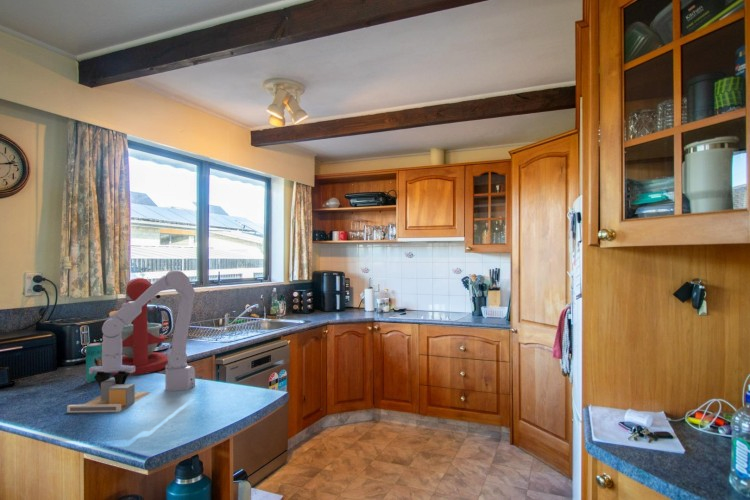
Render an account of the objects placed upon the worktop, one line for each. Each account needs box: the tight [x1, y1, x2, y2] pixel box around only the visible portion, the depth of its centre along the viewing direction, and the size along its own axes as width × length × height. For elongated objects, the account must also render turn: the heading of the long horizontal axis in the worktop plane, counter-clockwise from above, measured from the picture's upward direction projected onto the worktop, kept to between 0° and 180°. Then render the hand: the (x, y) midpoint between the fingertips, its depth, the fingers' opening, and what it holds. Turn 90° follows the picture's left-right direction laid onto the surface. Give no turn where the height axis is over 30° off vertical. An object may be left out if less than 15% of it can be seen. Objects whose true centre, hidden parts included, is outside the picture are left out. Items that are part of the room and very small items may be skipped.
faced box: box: [108, 383, 136, 408], centre depth 130 cm, size 6×4×6 cm
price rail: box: [66, 404, 122, 413], centre depth 124 cm, size 16×1×2 cm, turn 91°
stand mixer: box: [110, 277, 168, 377], centre depth 181 cm, size 24×32×40 cm
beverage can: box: [85, 342, 102, 384], centre depth 159 cm, size 6×6×15 cm
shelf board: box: [66, 391, 152, 414], centre depth 133 cm, size 16×18×1 cm
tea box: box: [100, 376, 116, 401], centre depth 137 cm, size 6×4×6 cm
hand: (112, 393), depth 137 cm, fingers closed on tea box, 4 cm apart
